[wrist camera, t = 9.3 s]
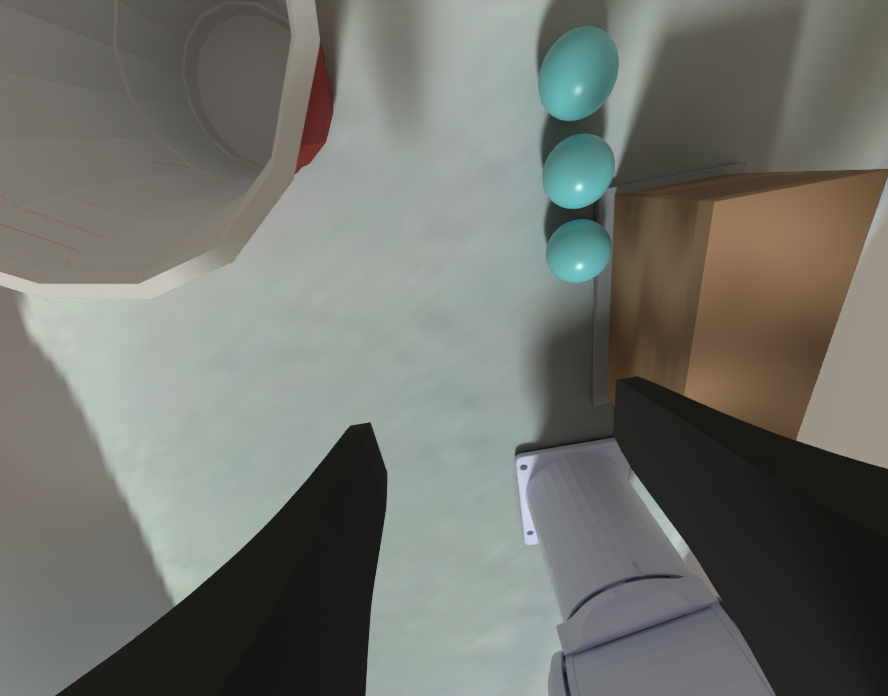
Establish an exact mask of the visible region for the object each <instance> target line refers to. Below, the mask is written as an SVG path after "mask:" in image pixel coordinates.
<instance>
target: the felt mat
mask: <svg viewBox="0 0 888 696" xmlns="http://www.w3.org/2000/svg"><path fill="white" fill-rule="evenodd" d="M744 166H745V162H742V163H735V164H729V165H724V166H719V167H714V168H708V169H703V170H698V171H693V172H687V173H682V174H677V175H672V176H666V177H661V178H656V179H651V180H645V181H640V182H635V183H630V184H624V185H619V186H614V187H609V188H608V189H607V190H606V192H605V193H604V194H603V195H602V196H601V197H600V198H599V199H598V200H596V207H595V222H597V223H599V224H600V225H601V226H602V227H603V228H604V229H605V230H606V231H607V232H608V234H609V236H610V239H611V244H612V248H613V222H614V197H615V195H618V194H624V193H629V192H634V191H639V190H645V189H650V188H655V187H661V186H666V185H671V184H677V183H682V182H687V181H692V180H698V179H703V178H708V177H714V176H719V175H724V174H738V173H743V171H744ZM611 273H612V251H611V257H610V260H609V262H608V264H607V265H606V267H605V268H604V270H603V271H602V272H601V273H600V274H598V275H597V276H596V277H594V329H593V390H592V404H593V405H594V406H595V407H599V406H604V405H610V404H612V403H611V402H610V400H609V399H608V398H607V375H608V349H609V324H610V299H611Z"/></svg>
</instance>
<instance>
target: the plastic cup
mask: <svg viewBox="0 0 888 696" xmlns="http://www.w3.org/2000/svg"><path fill="white" fill-rule="evenodd" d="M332 115H333V106H332V97H331V88H330V79H329V75H328V72H327V70H326V67H325V58H324V52H323V49H322V45H321V42H320V36H319V28H318V20H317V13H316V5H315V0H0V285H1V286H4V287H7V288H11V289H14V290H17V291H21V292H24V293H27V294H30V295H34V296H37V297H40V298H43V299H152V298H154V297H156V296H158V295H161V294H163V293H165V292H167V291H169V290H172V289H174V288H176V287H178V286H180V285H183V284H185V283H187V282H189V281H191V280H194V279H196V278H198V277H200V276H202V275H205V274H207V273H209V272H211V271H213V270H216V269H218V268H220V267H222V266H225V265H227V264H229V263H231V262H233V261H234V260H235V258H236V257H237V256H238V254H239V253H240V251H241V250H242V249H243V247H244V246H245V245H246V243H247V242H248V241H249V239H250V238H251V236H252V235H253V234H254V232H255V231H256V230H257V228H258V227H259V226H260V224H261V223H262V222H263V220H264V219H265V217H266V216H267V215H268V213H269V212H270V211H271V209H272V208H273V207H274V205H275V204H276V203H277V201H278V200H279V198H280V197H281V196H282V194H283V193H284V192H285V190H286V189H287V188H288V186H289V185H290V183H291V182H292V181H293V178H294V175H295V174H296V173H298V171H299V170H300V169H301V167H304V166H306V165H308V164H310V162H311V161H312V160H313V158H314V157H315V156H316V154H317V153H318V152H319V151H320V149H321V148H322V147H323V145H324V144H325V143H326V140H327V136H328V132H329V128H330V123H331V119H332Z"/></svg>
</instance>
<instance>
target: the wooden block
mask: <svg viewBox="0 0 888 696" xmlns="http://www.w3.org/2000/svg"><path fill="white" fill-rule="evenodd" d="M887 177H888V169H873V170H839V171H805V172H771V173H738V174H724V175H719V176H714V177H708V178H703V179H698V180H692V181H687V182H682V183H677V184H671V185H666V186H661V187H655V188H650V189H645V190H639V191H634V192H629V193H624V194H618V195H615V197H614V222H613V248H612V273H611V299H610V324H609V349H608V375H607V398H608V399H609V400H610V402H611V403H612V404H613V405H614V406H615V391H616V380H618V379H624V378H630V377H635V376H638V377H641V378H644V379H646V380H649V381H651V382H654V383H656V384H658V385H661V386H663V387H665V388H668V389H670V390H672V391H674V392H677V393H679V394H681V395H683V396H686V397H688V398H690V399H692V400H695V401H697V402H699V403H702V404H704V405H706V406H709V407H711V408H713V409H715V410H718V411H720V412H723V413H725V414H727V415H730V416H732V417H735V418H737V419H740V420H742V421H745V422H747V423H750V424H752V425H755V426H758V427H760V428H763V429H765V430H768V431H771V432H773V433H776V434H779V435H781V436H784V437H787V438H790V439H793V440H795V441H796V438H797V435H798V432H799V429H800V426H801V424H802V421H803V418H804V415H805V412H806V409H807V406H808V404H809V401H810V398H811V395H812V392H813V389H814V386H815V384H816V380H817V378H818V375H819V372H820V369H821V366H822V363H823V361H824V358H825V355H826V352H827V349H828V346H829V343H830V341H831V338H832V335H833V332H834V329H835V326H836V323H837V321H838V318H839V314H840V312H841V309H842V306H843V303H844V301H845V298H846V294H847V292H848V289H849V286H850V283H851V280H852V278H853V275H854V272H855V269H856V266H857V263H858V260H859V258H860V255H861V252H862V249H863V246H864V243H865V240H866V238H867V235H868V232H869V229H870V226H871V223H872V220H873V218H874V215H875V212H876V209H877V206H878V203H879V200H880V197H881V195H882V192H883V189H884V186H885V183H886V180H887Z"/></svg>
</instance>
